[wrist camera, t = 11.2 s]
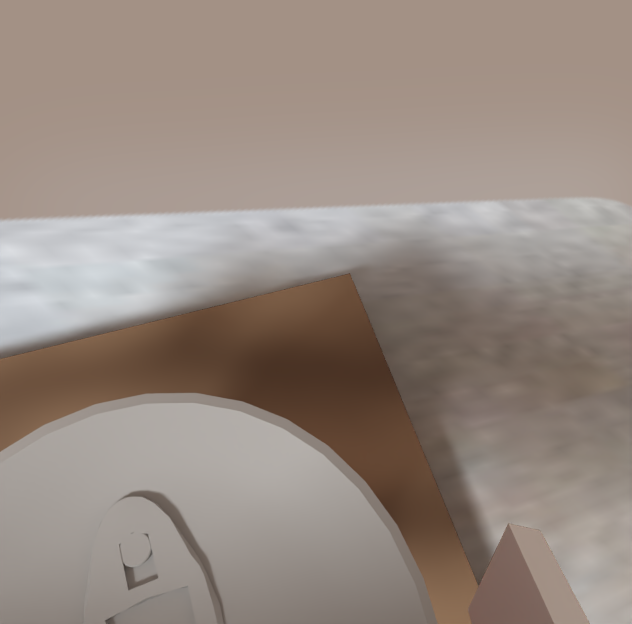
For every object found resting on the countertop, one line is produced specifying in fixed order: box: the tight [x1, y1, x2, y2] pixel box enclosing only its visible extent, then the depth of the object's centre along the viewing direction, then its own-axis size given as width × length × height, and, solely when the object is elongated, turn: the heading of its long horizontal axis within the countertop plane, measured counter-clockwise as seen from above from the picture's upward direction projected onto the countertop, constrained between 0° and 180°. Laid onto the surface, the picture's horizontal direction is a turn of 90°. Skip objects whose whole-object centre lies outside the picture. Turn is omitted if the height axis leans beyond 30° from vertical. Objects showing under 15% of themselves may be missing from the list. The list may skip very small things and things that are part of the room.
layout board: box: [0, 274, 479, 624], centre depth 17 cm, size 20×18×2 cm
